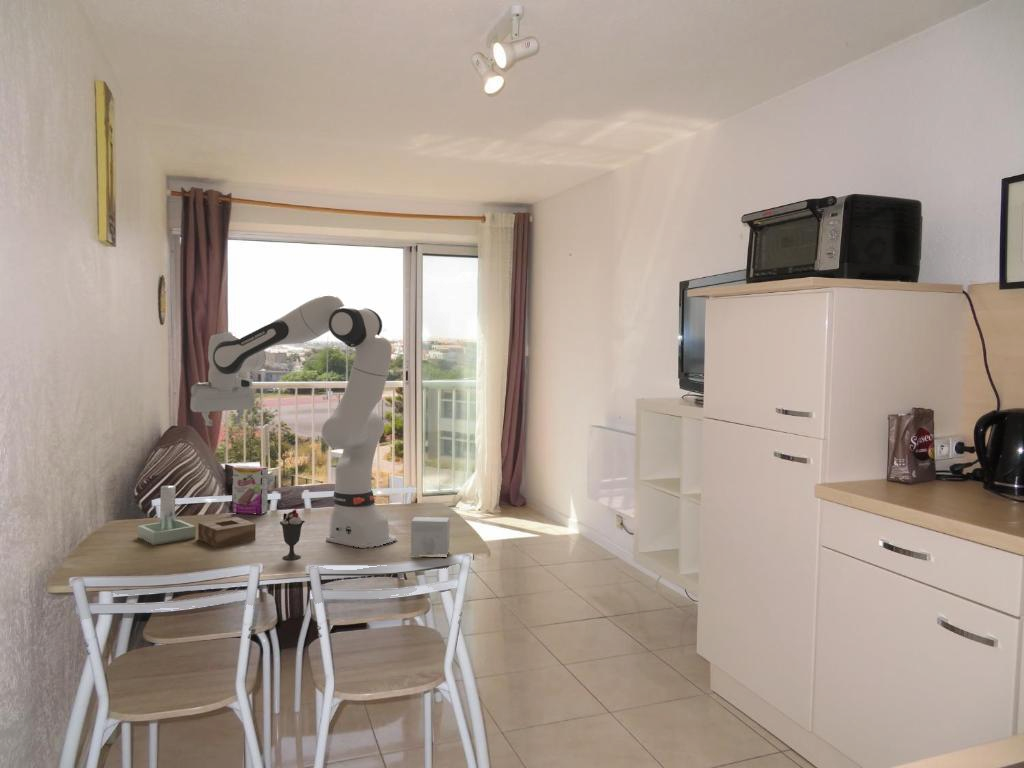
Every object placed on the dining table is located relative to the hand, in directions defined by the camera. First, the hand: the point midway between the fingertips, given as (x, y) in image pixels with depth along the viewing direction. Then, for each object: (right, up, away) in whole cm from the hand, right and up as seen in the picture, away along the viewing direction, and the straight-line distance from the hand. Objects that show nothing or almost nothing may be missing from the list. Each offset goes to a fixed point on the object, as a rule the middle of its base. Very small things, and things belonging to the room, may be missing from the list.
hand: (223, 424), depth 229 cm
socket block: (+7, -34, -15) cm, 38 cm away
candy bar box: (+1, -33, +20) cm, 38 cm away
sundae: (+32, -36, -32) cm, 58 cm away
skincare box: (+70, -36, -26) cm, 83 cm away
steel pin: (-11, -33, -15) cm, 38 cm away
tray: (-11, -34, -15) cm, 38 cm away
